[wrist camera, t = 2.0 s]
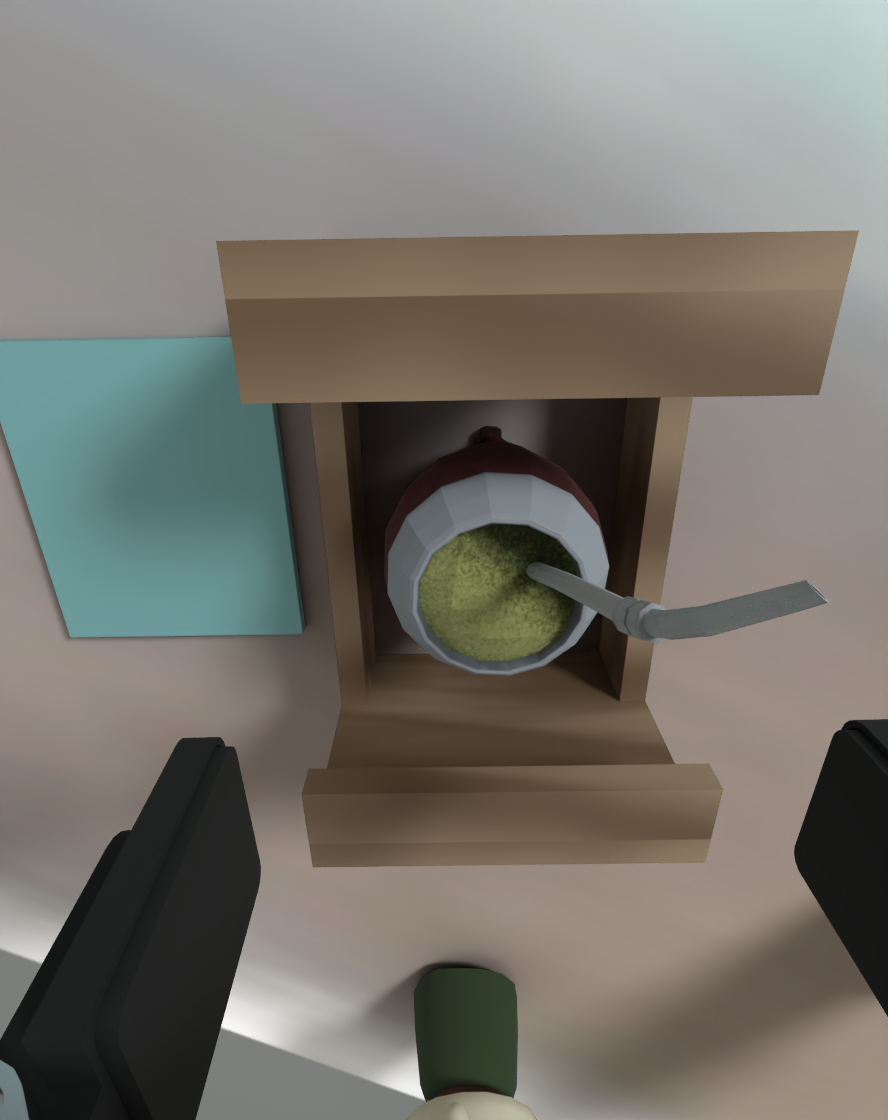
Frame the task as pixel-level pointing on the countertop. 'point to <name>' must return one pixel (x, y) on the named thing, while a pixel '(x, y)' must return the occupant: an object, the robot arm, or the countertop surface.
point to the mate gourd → (525, 567)
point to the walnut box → (638, 529)
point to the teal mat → (152, 486)
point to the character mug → (467, 1046)
